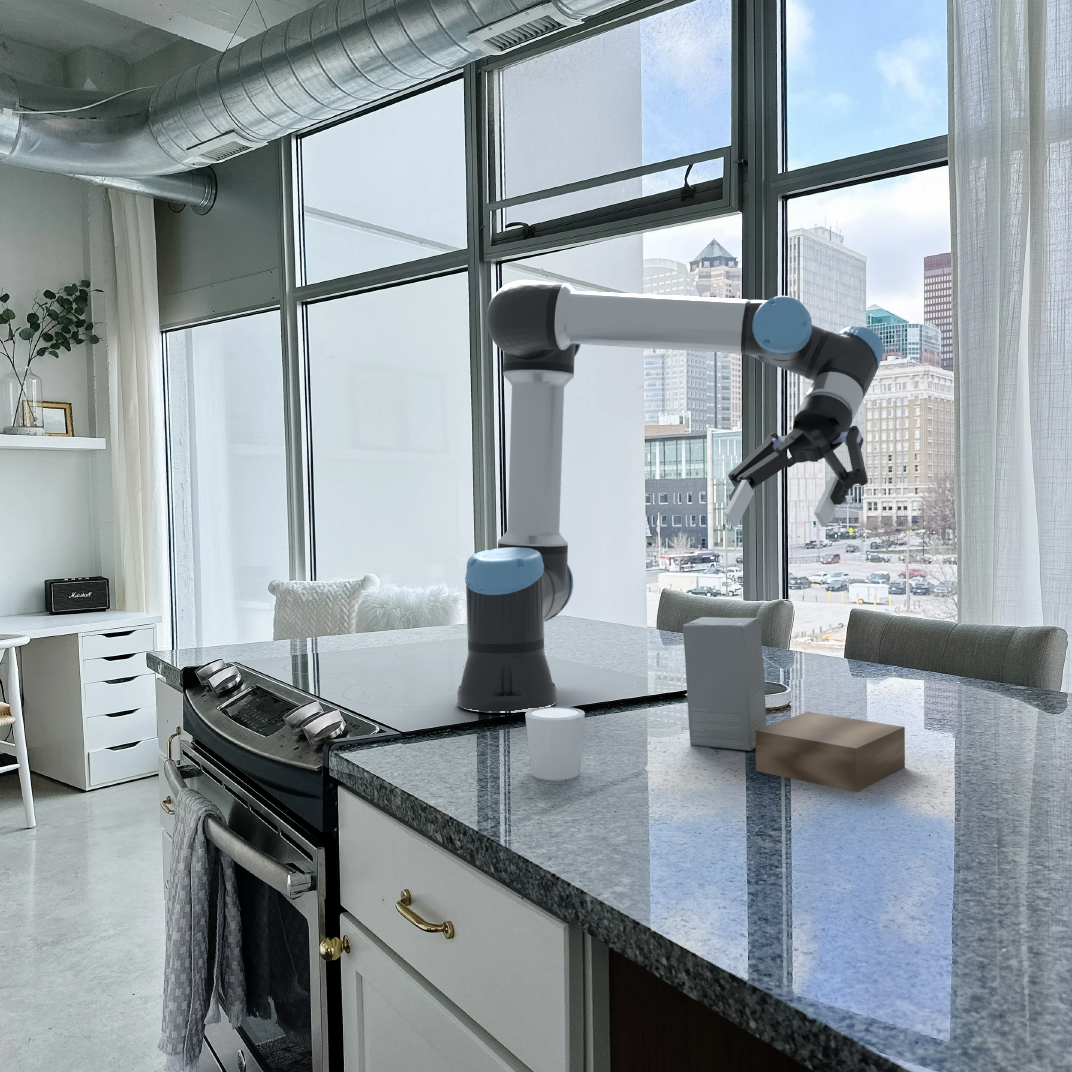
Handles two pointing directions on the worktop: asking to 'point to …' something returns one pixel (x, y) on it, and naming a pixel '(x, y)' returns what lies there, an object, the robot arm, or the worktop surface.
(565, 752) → the white tapered cup
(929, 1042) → the worktop surface
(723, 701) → the skincare box
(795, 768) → the walnut block
